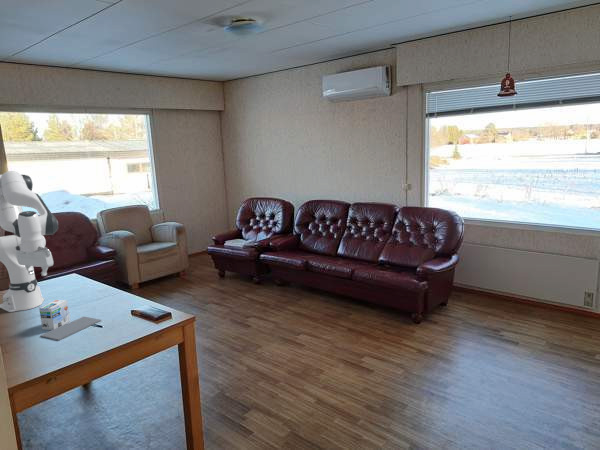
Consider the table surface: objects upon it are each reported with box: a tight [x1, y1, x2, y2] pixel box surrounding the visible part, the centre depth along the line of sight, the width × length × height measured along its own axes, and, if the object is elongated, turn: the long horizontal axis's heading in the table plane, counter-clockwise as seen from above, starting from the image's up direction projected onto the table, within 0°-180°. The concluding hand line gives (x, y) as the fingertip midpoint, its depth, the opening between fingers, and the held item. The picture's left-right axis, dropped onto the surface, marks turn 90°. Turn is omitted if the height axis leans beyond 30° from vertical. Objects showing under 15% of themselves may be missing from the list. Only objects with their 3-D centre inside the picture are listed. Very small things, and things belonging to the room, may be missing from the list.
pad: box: [40, 316, 102, 342], centre depth 194 cm, size 12×22×1 cm, turn 156°
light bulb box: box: [38, 299, 71, 331], centre depth 197 cm, size 11×7×11 cm, turn 168°
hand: (37, 274), depth 198 cm, fingers open, 8 cm apart
